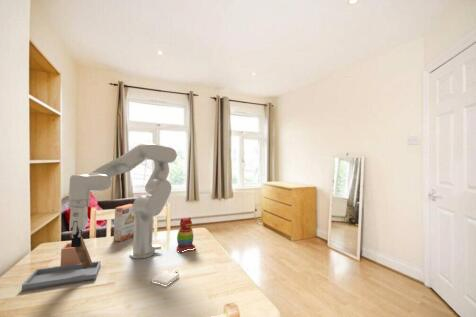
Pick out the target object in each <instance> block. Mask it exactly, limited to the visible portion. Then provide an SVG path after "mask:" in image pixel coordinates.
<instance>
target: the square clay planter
mask: <svg viewBox="0 0 476 317" xmlns="http://www.w3.org/2000/svg"><path fill="white" fill-rule="evenodd" d="M84 243H85V244H86V242H85V241H84ZM60 251H61V252H60V266H66V265H73V264H81V262H80V260H79V257H78V255H77V252H76V250H75V247H71V242H66V243H65V244H64V245H63V247H62V248H61V250H60Z"/></svg>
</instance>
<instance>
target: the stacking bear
mask: <svg viewBox="0 0 476 317" xmlns="http://www.w3.org/2000/svg"><path fill="white" fill-rule="evenodd" d="M179 225H180V228H179V230H178V232H177V235H176V240H177V246H176V252H177V251H179V252H182V251H184V250H187V249H193V248H195V247H196V245H194V244H193V242H194V231H193V227H192V225H193V222H192V219H191V217H185V218H181V219H180V222H179ZM179 252H178V253H179Z"/></svg>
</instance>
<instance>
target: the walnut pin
mask: <svg viewBox="0 0 476 317" xmlns="http://www.w3.org/2000/svg"><path fill="white" fill-rule="evenodd" d="M69 236H70V239H71V241H72V232H71V233H70V234H69ZM80 237H81V246H80V247H75V250H76V252H77V255H78V257H79V260H80V262H81V265H82V267H83V269H84V268H87V267H89V266H91V264H92V262H93V261H92V258H91V256H90V253H89V251H88V249H87V245H86V242H85V240H84V237H83V238H82V235H81V233H80ZM84 242H85V243H84Z"/></svg>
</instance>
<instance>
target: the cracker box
mask: <svg viewBox="0 0 476 317" xmlns="http://www.w3.org/2000/svg"><path fill="white" fill-rule="evenodd" d="M133 204H134V203H128V204H124V205H121V206H120V205H119V206H117V207H115V209H114V211H115V212H114V224H113V225H114V226H113V241H114V242H121V243H122V242H123V241H125V240H127V239H129V238H131V236H132V237H134V236H133V235H134V210H133Z"/></svg>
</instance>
